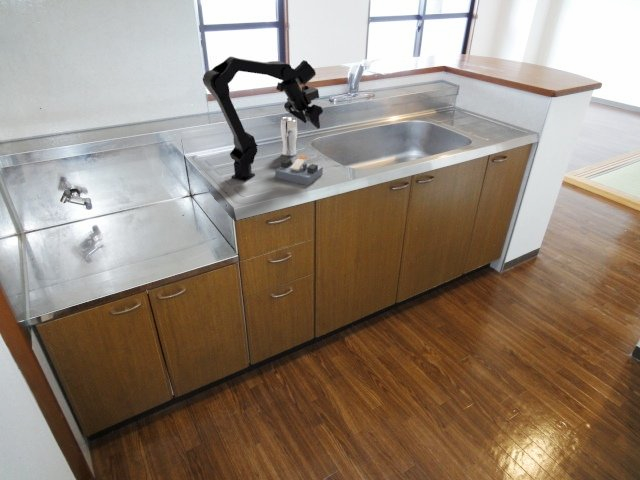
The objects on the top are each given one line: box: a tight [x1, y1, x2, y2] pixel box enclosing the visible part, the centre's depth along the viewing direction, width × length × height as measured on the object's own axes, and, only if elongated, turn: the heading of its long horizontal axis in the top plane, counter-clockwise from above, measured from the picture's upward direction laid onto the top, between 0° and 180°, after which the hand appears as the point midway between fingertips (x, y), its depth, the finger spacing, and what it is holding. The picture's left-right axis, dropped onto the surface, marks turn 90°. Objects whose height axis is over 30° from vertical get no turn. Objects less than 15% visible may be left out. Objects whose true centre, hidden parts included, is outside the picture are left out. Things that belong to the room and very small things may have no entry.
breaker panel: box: [274, 159, 324, 186], centre depth 160 cm, size 12×14×5 cm
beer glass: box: [280, 116, 298, 157], centre depth 178 cm, size 7×7×15 cm
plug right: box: [307, 163, 319, 174], centre depth 158 cm, size 4×2×2 cm, turn 154°
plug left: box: [280, 158, 292, 168], centre depth 162 cm, size 4×2×2 cm, turn 154°
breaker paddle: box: [290, 154, 309, 171], centre depth 159 cm, size 8×4×1 cm, turn 154°
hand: (312, 125), depth 168 cm, fingers open, 9 cm apart
